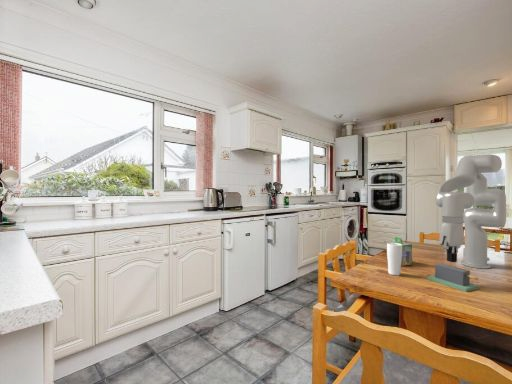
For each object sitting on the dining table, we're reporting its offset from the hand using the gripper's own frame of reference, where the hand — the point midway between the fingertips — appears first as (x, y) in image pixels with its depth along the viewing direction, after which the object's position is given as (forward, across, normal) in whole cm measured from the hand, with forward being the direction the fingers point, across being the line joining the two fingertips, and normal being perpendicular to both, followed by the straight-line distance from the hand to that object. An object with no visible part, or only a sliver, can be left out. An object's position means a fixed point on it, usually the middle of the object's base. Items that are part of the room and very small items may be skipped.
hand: (451, 261), depth 116 cm
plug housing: (+9, 0, +2) cm, 9 cm away
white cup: (+10, +12, -19) cm, 25 cm away
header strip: (+10, 0, 0) cm, 10 cm away
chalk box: (+10, -7, -31) cm, 33 cm away
